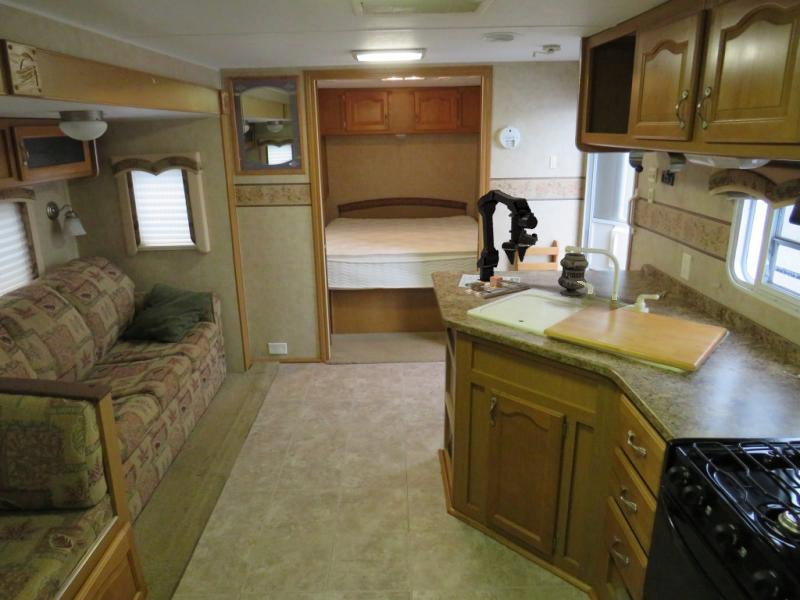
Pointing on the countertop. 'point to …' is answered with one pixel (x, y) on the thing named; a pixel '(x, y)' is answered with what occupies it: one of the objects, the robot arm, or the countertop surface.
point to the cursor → (497, 281)
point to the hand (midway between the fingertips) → (516, 263)
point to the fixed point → (478, 286)
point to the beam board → (498, 289)
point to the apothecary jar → (572, 274)
